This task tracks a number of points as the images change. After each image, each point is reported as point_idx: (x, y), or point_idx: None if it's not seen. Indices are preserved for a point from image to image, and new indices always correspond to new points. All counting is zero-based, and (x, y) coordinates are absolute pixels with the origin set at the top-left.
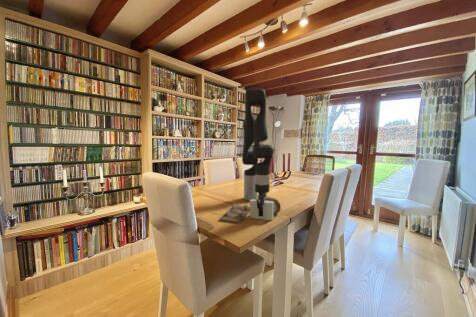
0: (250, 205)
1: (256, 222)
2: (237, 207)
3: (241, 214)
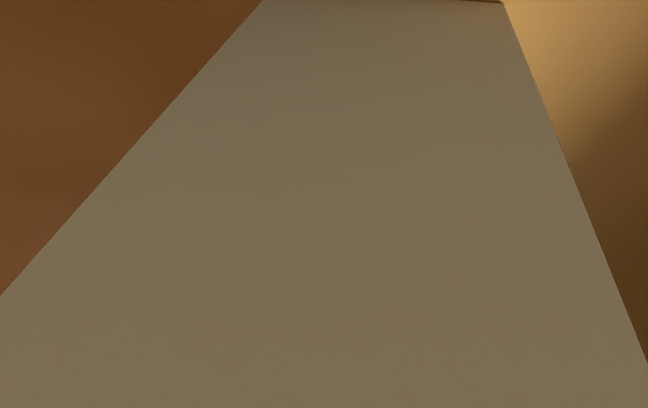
0: (69, 260)
1: (30, 209)
2: None
3: None
